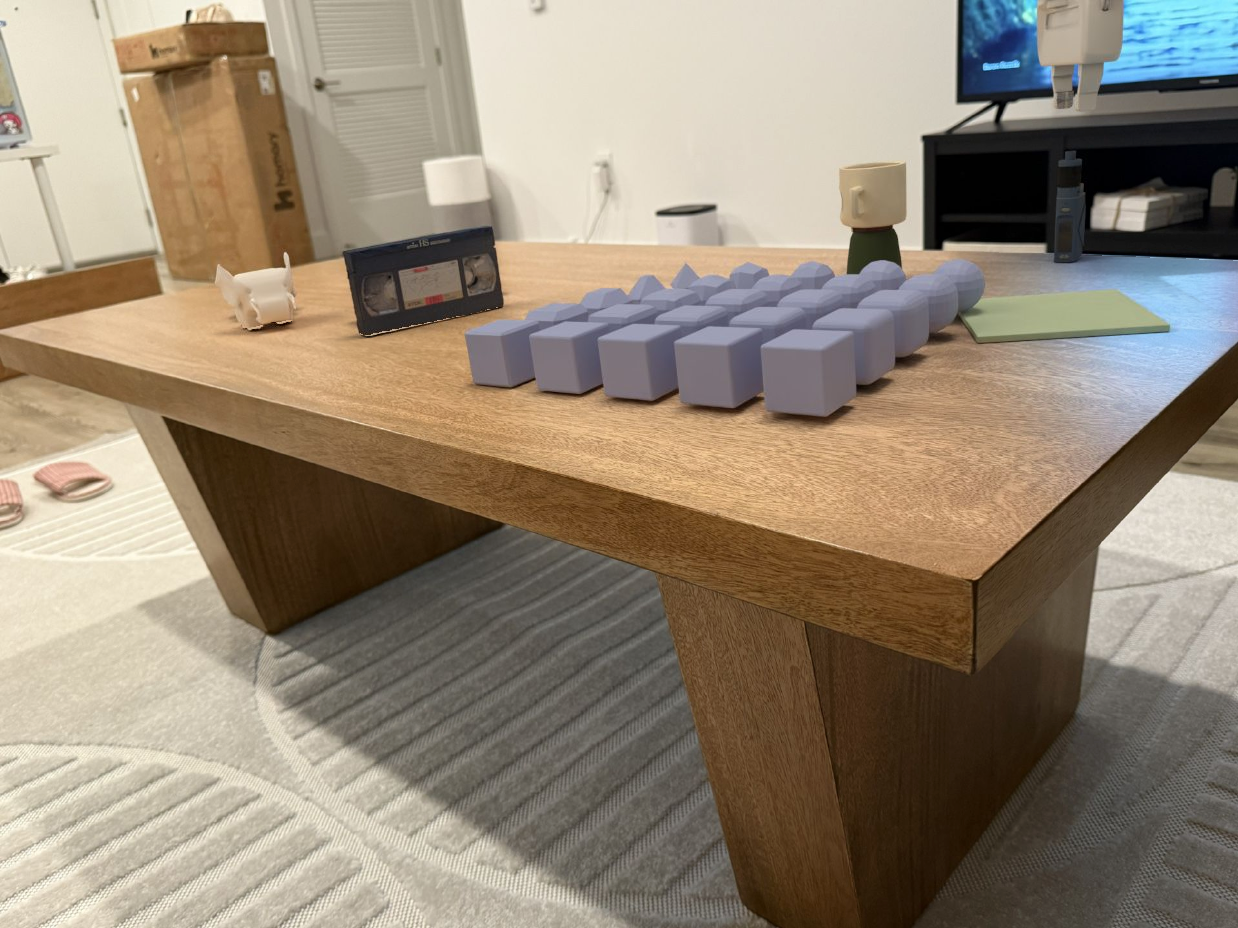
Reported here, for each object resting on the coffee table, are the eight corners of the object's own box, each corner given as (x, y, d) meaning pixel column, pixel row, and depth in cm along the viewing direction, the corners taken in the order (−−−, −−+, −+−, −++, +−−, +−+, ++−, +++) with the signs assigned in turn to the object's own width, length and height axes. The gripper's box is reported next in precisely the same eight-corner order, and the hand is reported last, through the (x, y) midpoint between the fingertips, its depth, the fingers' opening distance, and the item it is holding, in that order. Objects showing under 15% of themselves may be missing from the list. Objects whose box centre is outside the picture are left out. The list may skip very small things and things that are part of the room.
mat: (1115, 295, 94) (1116, 288, 94) (1169, 331, 81) (1170, 324, 80) (952, 306, 97) (952, 300, 97) (977, 343, 84) (977, 336, 83)
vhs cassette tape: (365, 338, 114) (348, 252, 110) (357, 335, 116) (339, 250, 113) (507, 307, 123) (495, 226, 119) (496, 305, 125) (484, 225, 122)
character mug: (865, 273, 118) (862, 161, 114) (923, 274, 114) (922, 157, 109) (824, 293, 110) (819, 172, 106) (884, 294, 106) (882, 169, 101)
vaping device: (1050, 263, 112) (1055, 153, 108) (1061, 254, 116) (1066, 148, 112) (1075, 263, 111) (1080, 152, 106) (1085, 254, 114) (1091, 147, 110)
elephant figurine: (244, 340, 121) (227, 268, 118) (221, 329, 130) (204, 261, 127) (320, 324, 125) (305, 254, 122) (292, 314, 135) (278, 249, 132)
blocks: (471, 384, 89) (462, 331, 87) (684, 301, 114) (679, 258, 112) (827, 418, 68) (823, 348, 66) (992, 306, 93) (992, 254, 91)
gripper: (1146, -46, 93) (1134, 109, 97) (1088, -25, 111) (1080, 104, 116) (1075, -37, 94) (1066, 116, 99) (1028, -18, 113) (1023, 110, 117)
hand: (1073, 110), depth 108 cm, fingers open, 8 cm apart
